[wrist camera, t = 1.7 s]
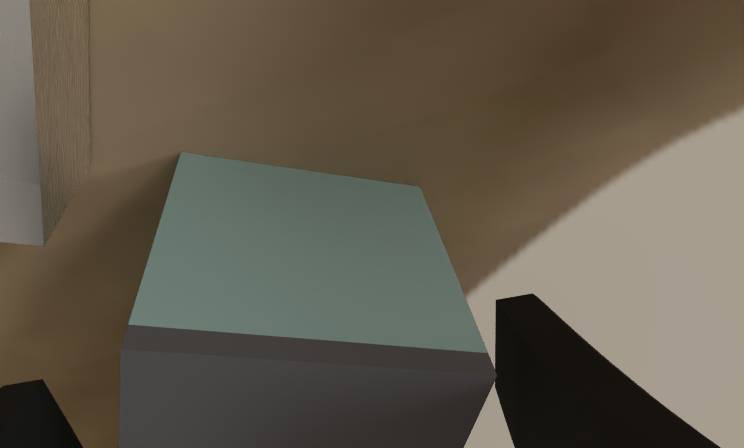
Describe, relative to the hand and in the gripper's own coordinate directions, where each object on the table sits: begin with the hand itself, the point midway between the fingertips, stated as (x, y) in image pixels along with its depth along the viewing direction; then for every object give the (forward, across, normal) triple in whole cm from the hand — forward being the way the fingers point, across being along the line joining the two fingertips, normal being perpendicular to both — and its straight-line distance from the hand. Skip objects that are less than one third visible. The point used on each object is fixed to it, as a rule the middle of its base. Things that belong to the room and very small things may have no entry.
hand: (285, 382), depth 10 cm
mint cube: (+3, 0, 0) cm, 3 cm away
